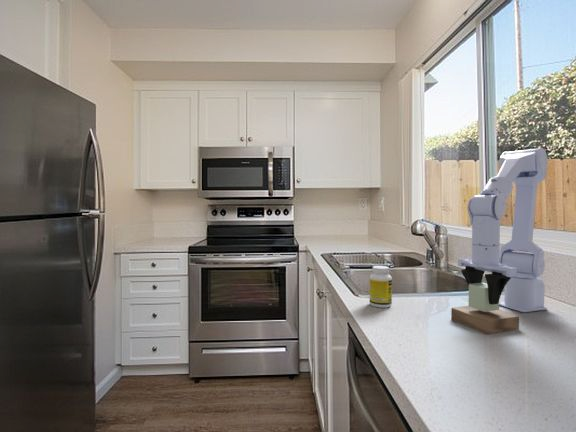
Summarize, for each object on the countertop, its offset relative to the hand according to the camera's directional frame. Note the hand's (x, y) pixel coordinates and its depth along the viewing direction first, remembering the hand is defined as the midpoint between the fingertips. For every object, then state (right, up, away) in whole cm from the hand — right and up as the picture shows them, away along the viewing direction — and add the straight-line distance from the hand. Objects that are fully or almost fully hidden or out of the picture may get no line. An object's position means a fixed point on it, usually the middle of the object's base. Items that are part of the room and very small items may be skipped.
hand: (484, 300), depth 81 cm
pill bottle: (-21, -5, +16) cm, 26 cm away
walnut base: (0, -6, 0) cm, 6 cm away
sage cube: (0, -2, 0) cm, 2 cm away
